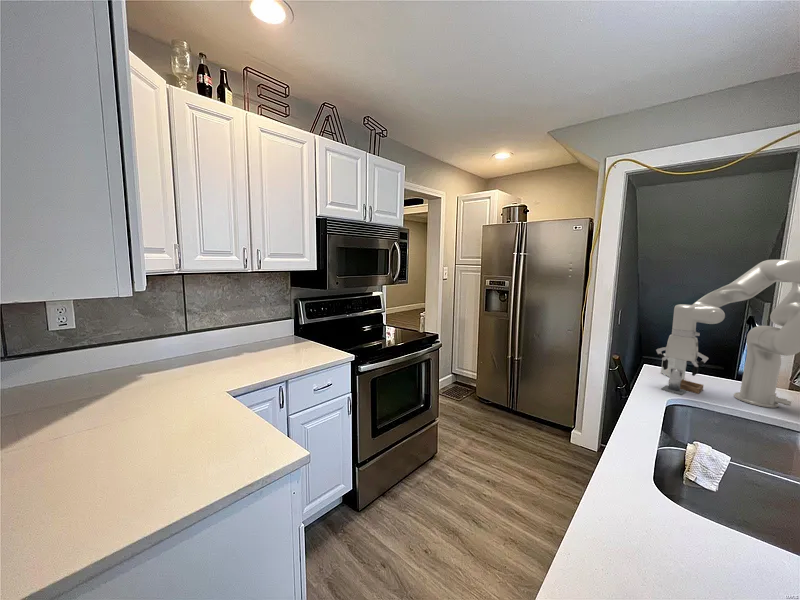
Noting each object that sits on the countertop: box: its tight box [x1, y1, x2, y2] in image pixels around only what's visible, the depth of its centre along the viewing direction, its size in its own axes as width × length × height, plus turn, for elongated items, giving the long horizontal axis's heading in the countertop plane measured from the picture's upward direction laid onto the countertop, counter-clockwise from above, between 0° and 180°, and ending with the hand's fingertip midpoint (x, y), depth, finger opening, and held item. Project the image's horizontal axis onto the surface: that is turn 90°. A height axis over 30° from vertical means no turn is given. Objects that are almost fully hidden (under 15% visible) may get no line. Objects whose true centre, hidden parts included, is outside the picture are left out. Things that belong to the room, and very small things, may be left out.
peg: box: [668, 368, 683, 391], centre depth 143 cm, size 4×4×9 cm
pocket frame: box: [680, 379, 705, 395], centre depth 147 cm, size 8×8×2 cm
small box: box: [660, 353, 688, 380], centre depth 162 cm, size 8×6×10 cm
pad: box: [660, 384, 687, 396], centre depth 143 cm, size 7×7×1 cm
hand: (679, 372), depth 142 cm, fingers open, 9 cm apart
